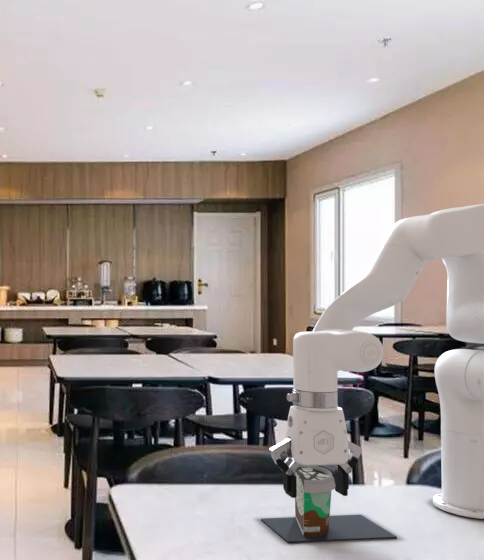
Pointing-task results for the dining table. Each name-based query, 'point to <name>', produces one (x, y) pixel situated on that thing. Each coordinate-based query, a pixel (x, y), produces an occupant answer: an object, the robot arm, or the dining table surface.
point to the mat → (330, 529)
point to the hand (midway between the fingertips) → (316, 494)
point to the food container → (313, 499)
